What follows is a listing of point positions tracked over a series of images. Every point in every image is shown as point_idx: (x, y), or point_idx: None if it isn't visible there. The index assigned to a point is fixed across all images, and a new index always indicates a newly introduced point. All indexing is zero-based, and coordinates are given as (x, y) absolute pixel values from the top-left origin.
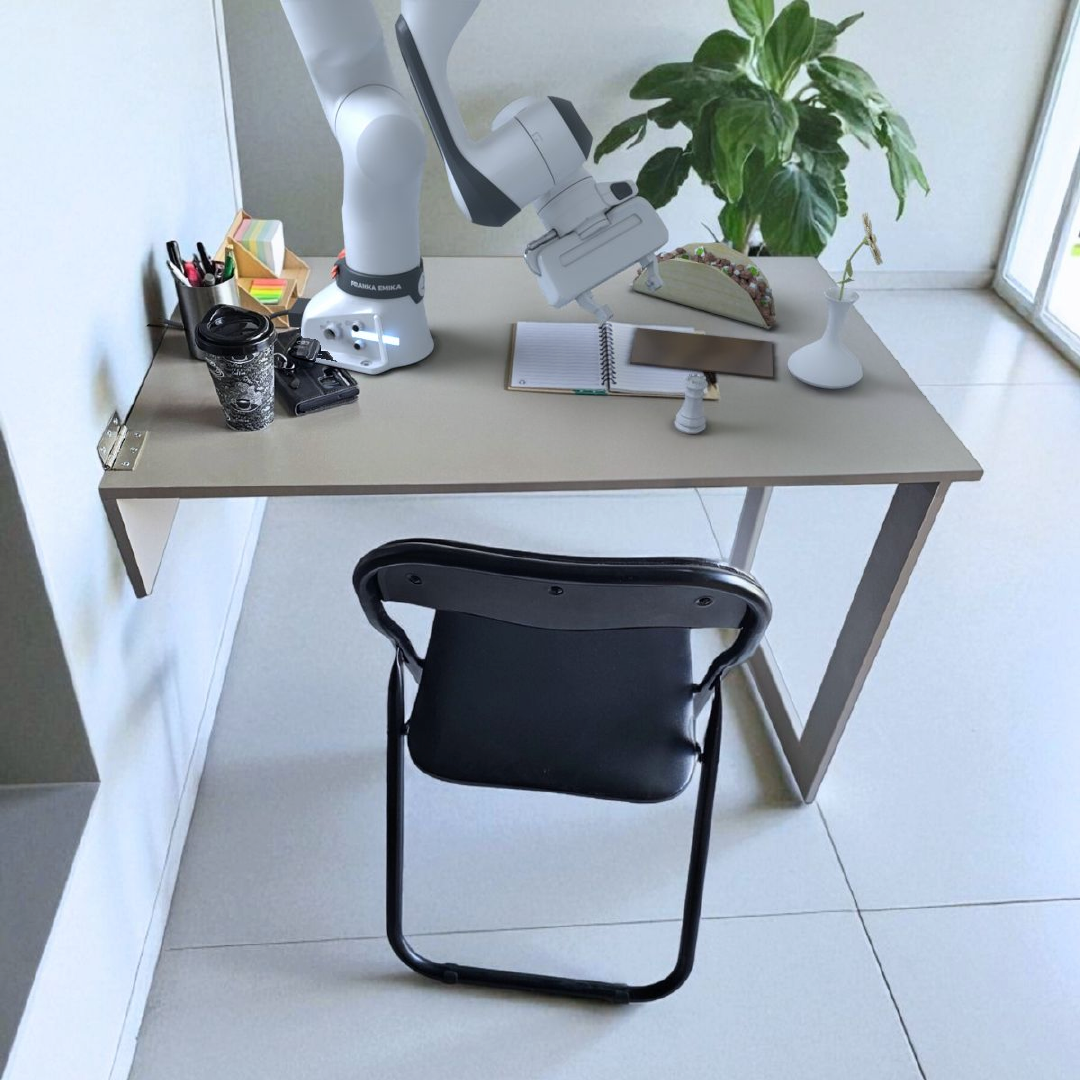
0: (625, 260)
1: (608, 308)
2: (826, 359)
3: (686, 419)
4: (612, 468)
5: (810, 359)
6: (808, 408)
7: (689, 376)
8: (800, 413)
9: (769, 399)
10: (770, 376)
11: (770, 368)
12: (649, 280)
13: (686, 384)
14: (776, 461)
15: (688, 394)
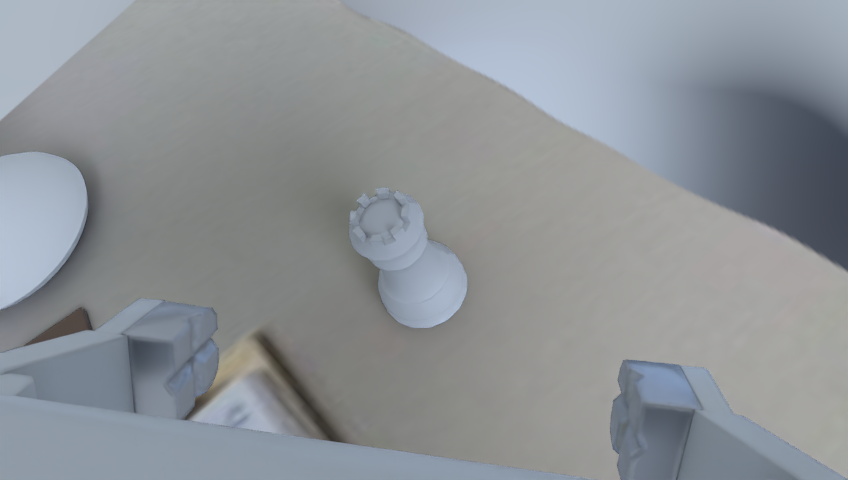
0: (226, 442)
1: (644, 385)
2: (11, 182)
3: (449, 264)
4: (773, 282)
5: (18, 217)
6: (170, 180)
7: (392, 229)
8: (199, 177)
9: (180, 254)
10: (81, 312)
11: (43, 337)
12: (180, 358)
13: (416, 233)
14: (408, 89)
15: (422, 239)
